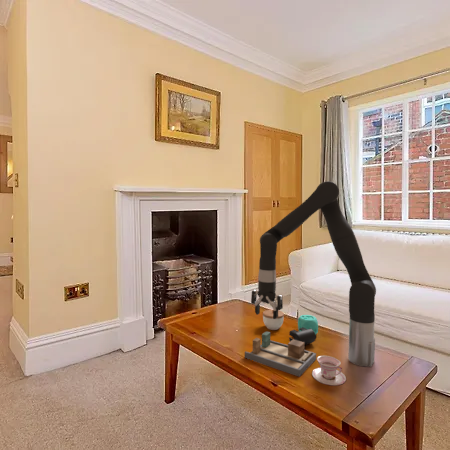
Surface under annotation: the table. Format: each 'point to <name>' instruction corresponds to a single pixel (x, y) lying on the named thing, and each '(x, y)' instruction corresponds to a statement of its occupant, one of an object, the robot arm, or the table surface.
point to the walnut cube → (296, 348)
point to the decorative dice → (308, 323)
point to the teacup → (329, 371)
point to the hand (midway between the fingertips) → (266, 316)
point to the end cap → (303, 335)
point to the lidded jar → (269, 321)
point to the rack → (280, 365)
